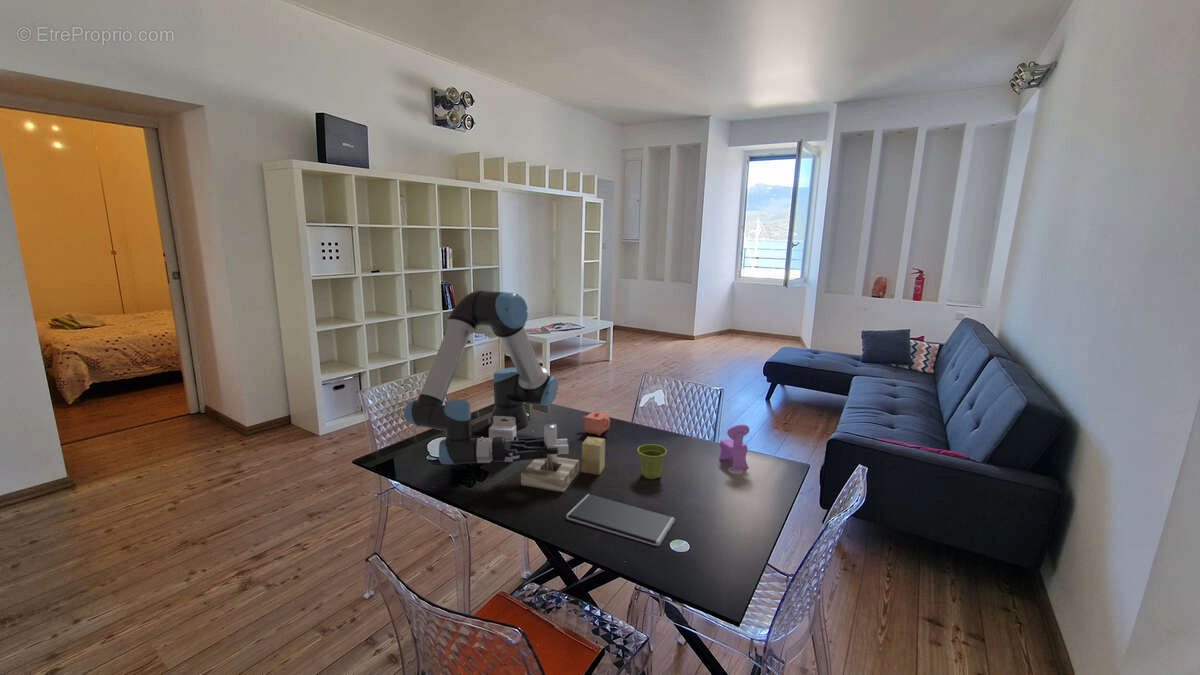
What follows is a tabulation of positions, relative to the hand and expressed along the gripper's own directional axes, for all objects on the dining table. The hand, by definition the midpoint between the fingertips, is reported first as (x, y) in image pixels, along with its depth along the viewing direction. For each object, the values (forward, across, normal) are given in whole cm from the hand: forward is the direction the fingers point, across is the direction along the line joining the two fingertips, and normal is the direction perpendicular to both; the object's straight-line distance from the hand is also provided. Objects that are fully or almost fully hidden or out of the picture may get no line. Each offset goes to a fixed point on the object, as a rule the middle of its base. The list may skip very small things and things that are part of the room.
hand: (567, 446), depth 154 cm
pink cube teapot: (+14, +36, +11) cm, 40 cm away
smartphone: (+12, -26, +11) cm, 31 cm away
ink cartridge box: (-21, +16, +11) cm, 29 cm away
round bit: (-5, 0, +9) cm, 10 cm away
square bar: (+9, +4, +11) cm, 15 cm away
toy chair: (+57, +3, +11) cm, 58 cm away
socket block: (-5, 0, +11) cm, 12 cm away
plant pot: (+27, -2, +11) cm, 29 cm away
